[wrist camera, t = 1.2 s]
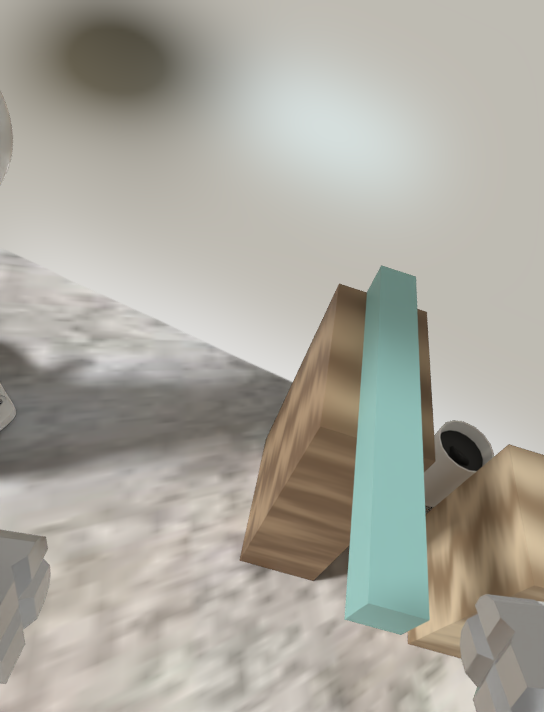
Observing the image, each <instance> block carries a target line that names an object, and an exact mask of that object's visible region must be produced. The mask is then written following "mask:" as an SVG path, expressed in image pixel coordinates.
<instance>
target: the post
mask: <svg viewBox="0 0 544 712" xmlns="http://www.w3.org/2000/svg"><path fill="white" fill-rule="evenodd" d="M366 299H367V292H363V291H360V290H357V289H354V288H351V287H348V286H345V285H342V284H339V285H338V287H337V289H336V291H335V294H334V296H333V298H332V300H331V302H330V304H329V306H328V308H327V311H326V313H325V315H324V317H323V319H322V321H321V323H320V326H319V328H318V330H317V332H316V334H315V336H314V339H313V340H312V343H311V345H310V347H309V349H308V351H307V353H306V356H305V357H304V360H303V362H302V364H301V366H300V368H299V370H298V372H297V375H296V377H295V379H294V381H293V383H292V385H291V387H290V389H289V392H288V394H287V396H286V398H285V400H284V402H283V404H282V407H281V409H280V411H279V413H278V415H277V417H276V419H275V421H274V424H273V426H272V428H271V430H270V432H269V434H268V436H267V439H266V442H265V446H264V451H263V455H262V460H261V465H260V469H259V474H258V478H257V483H256V487H255V492H254V497H253V501H252V506H251V510H250V515H249V520H248V524H247V529H246V533H245V538H244V542H243V547H242V552H241V556H240V561H244V562H247V563H251V564H254V565H258V566H261V567H265V568H269V569H272V570H276V571H279V572H283V573H287V574H290V575H294V576H297V577H301V578H304V579H308V580H312V581H314V580H315V579H316V578H317V577H318V576H319V575H320V574H321V573H322V572H323V571H324V570H325V569H326V568H327V567H328V566H329V565H330V564H331V563H332V562H333V561H334V560H335V559H336V558H337V557H338V556H339V555H340V554H341V553H342V552H343V551H344V550H345V549H346V548H347V547H348V546H349V545H350V534H351V519H352V504H353V490H354V475H355V460H356V446H357V431H358V416H359V402H360V387H361V373H362V358H363V343H364V329H365V314H366ZM417 316H418V341H419V366H420V391H421V416H422V441H423V466H424V472H425V471H426V470H427V469H428V468H429V467H430V466H431V465H432V464H433V463H434V462H436V459H435V442H434V426H433V408H432V392H431V376H430V358H429V342H428V325H427V312H425V311H422V310H419V309H417Z"/></svg>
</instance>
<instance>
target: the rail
mask: <svg viewBox="0 0 544 712" xmlns="http://www.w3.org/2000/svg"><path fill="white" fill-rule="evenodd" d="M345 620H349V621H352V622H356V623H360V624H363V625H367V626H371V627H374V628H378V629H381V630H385V631H389V632H392V633H396V634H400V635H402V634H404V633H406V632H408V631H410V630H411V629H413V628H415V627H417V626H419V625H421V624H423V623H425V622H427V621H429V620H430V616H429V591H428V566H427V541H426V516H425V491H424V466H423V441H422V416H421V391H420V366H419V341H418V316H417V292H416V277H415V276H412V275H409V274H406V273H403V272H400V271H396V270H394V269H391V268H388V267H385V266H381V267H380V269H379V271H378V273H377V275H376V277H375V278H374V280H373V282H372V284H371V286H370V288H369V290H368V291H367V299H366V314H365V329H364V343H363V358H362V373H361V387H360V402H359V416H358V431H357V446H356V460H355V475H354V490H353V504H352V519H351V534H350V548H349V563H348V577H347V592H346V607H345Z"/></svg>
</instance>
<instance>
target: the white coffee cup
mask: <svg viewBox="0 0 544 712" xmlns="http://www.w3.org/2000/svg"><path fill="white" fill-rule="evenodd" d="M434 442H435V459H436V462H434V463H433V464H432V465H431V466H430V467H429V468H428V469H427V470H426V471H425V472H424V491H425V506H428V507H435V506H436V505H437V504H439V503H440V502H441V501H442V500H443V499H444V498H446V497H447V496H448V495H449V494H450V493H452V492H453V491H454V490H455V489H456V488H458V487H459V486H460V485H461V484H462V483H463V482H465V481H466V480H467V479H468V478H469V477H471V476H472V475H473V474H474V473H475V472H477V471H478V470H479V469H480V468H481V467H483V466H484V465H485V464H486V463H487V462H488V461H490V460H491V459H492V458H493V457H494V453H493V450H492V447H491V444H490V443H489V441H488V440H487V439H486V437H485V436H484V435H483V434H482V433H481V432H480V431H479V430H478V429H476V428H475V427H474V426H472V425H470V424H468V423H465V422H462V421H455V420H454V421H450V422H446V423H445V424H444V425H443V426H442V427H441V428H440V430H439V431H438V432H437V433H436V434H435V435H434Z"/></svg>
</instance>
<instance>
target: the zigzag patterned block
mask: <svg viewBox="0 0 544 712" xmlns="http://www.w3.org/2000/svg"><path fill="white" fill-rule="evenodd" d="M425 516H426V541H427V566H428V591H429V616H430V620H429V621H427V622H425V623H423V624H421V625H419V626H417V627H415V628H413V629H411V630H410V631H408V644H410V645H414V646H418V647H421V648H425V649H429V650H432V651H436V652H440V653H443V654H447V655H451V656H454V657H458V658H461V652H460V637H461V630H462V628H463V626H464V624H465V622H466V620H467V619H468V618H470V617H472V616H474V615H476V614H478V613H477V610H476V607H475V604H476V603H477V601H478V599H479V598H480V597H481V596H483V595H485V594H489V595H498V596H507V597H515V598H524V599H532V600H536V601H541V602H544V455H541V454H538V453H535V452H532V451H529V450H525V449H522V448H519V447H516V446H512V445H508V446H506V447H505V448H504V449H503V450H502V451H500V452H499V453H498V454H497V455H496V456H494V457H493V458H492V459H491V460H490V461H488V462H487V463H486V464H485V465H484V466H483V467H481V468H480V469H479V470H478V471H477V472H475V473H474V474H473V475H472V476H471V477H469V478H468V479H467V480H466V481H465V482H463V483H462V484H461V485H460V486H459V487H458V488H456V489H455V490H454V491H453V492H452V493H450V494H449V495H448V496H447V497H446V498H444V499H443V500H442V501H441V502H440V503H439V504H437V505H436V506H435V507H434V508H433V509H431V510H430V511H429V512H428V513H427V514H425Z"/></svg>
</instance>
